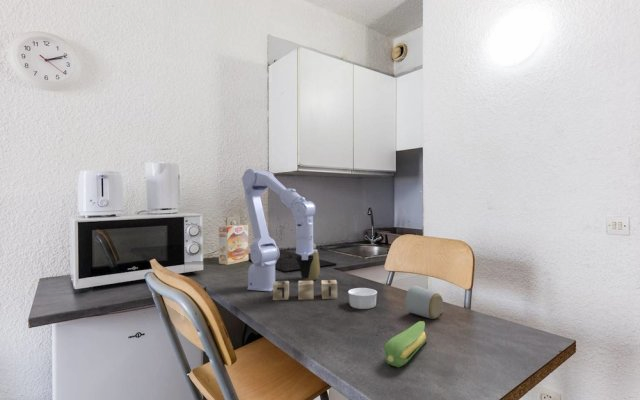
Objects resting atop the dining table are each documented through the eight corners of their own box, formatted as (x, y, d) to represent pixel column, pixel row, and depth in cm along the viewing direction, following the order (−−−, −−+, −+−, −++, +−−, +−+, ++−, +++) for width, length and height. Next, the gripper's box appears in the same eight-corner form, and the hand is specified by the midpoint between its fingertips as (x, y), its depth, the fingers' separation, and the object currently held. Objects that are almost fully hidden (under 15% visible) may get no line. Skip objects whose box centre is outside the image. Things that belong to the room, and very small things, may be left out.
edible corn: (375, 345, 65) (396, 344, 63) (414, 318, 81) (432, 316, 79) (382, 373, 64) (403, 373, 62) (420, 340, 80) (438, 339, 78)
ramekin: (342, 306, 103) (342, 291, 103) (359, 299, 109) (359, 286, 109) (366, 312, 97) (366, 297, 97) (382, 305, 103) (382, 290, 103)
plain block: (298, 299, 109) (298, 284, 109) (298, 295, 114) (298, 280, 114) (313, 299, 110) (313, 284, 110) (313, 295, 115) (313, 280, 115)
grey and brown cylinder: (431, 323, 88) (431, 293, 88) (404, 315, 94) (404, 287, 94) (450, 314, 95) (450, 286, 95) (424, 307, 101) (424, 281, 101)
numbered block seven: (272, 300, 109) (272, 284, 109) (274, 295, 114) (274, 280, 114) (288, 300, 109) (288, 284, 109) (289, 295, 114) (288, 280, 114)
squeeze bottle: (320, 281, 133) (319, 236, 133) (299, 281, 133) (299, 236, 133) (320, 276, 141) (319, 234, 141) (301, 277, 141) (300, 234, 141)
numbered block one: (322, 299, 110) (322, 283, 110) (321, 294, 115) (321, 279, 115) (337, 298, 110) (337, 283, 110) (336, 294, 115) (335, 279, 115)
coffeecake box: (227, 265, 169) (227, 226, 169) (218, 263, 173) (217, 225, 173) (249, 260, 182) (248, 224, 182) (239, 259, 186) (239, 223, 186)
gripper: (317, 239, 105) (318, 283, 105) (315, 234, 120) (316, 272, 120) (294, 240, 105) (295, 283, 105) (296, 235, 119) (296, 273, 119)
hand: (305, 277), depth 112 cm, fingers closed
